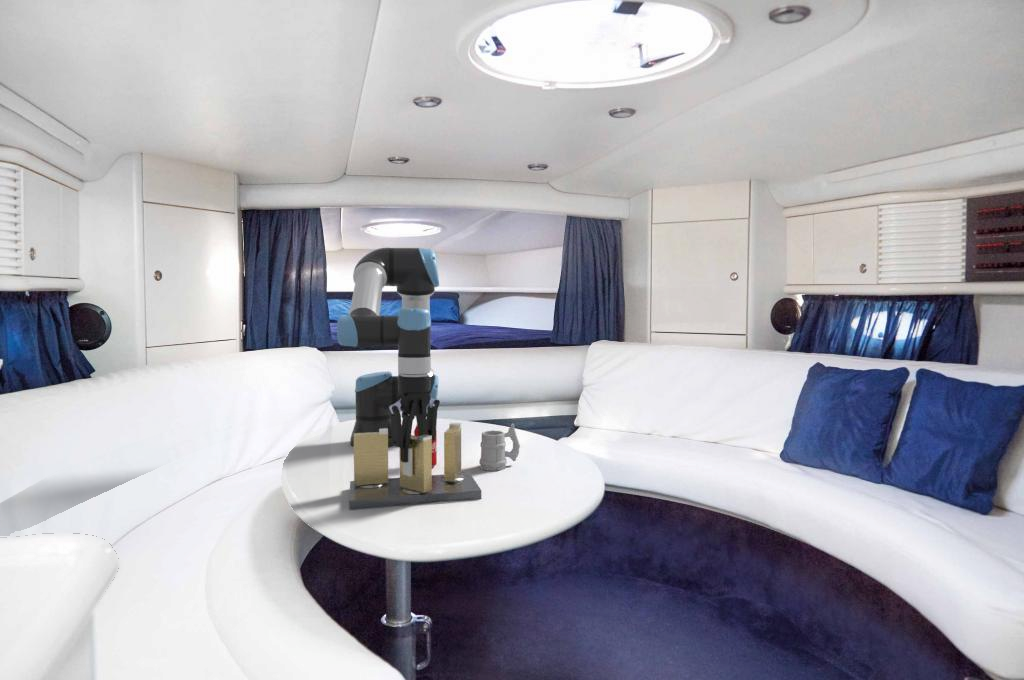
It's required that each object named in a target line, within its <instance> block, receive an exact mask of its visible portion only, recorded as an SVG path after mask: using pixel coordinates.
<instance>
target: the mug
mask: <svg viewBox="0 0 1024 680" xmlns="http://www.w3.org/2000/svg"><path fill="white" fill-rule="evenodd" d="M505 438H510V440H511V441H512V448H511V451H508V450H506V445H507V444H506V439H505ZM520 447H521V444H520V442H519V439H518V436H517V432H516V430H515V424H514V423H511V424H510V426H509V428H508V430H507V432H504V431H501V430H485V431H483V432H482V433H481V442H480V448H481V449H480V458H479V465H480V469H482V470H485V471H489V472H490V471H491V472H492V471H493V472H495V471H501V470H504V469H506V466H507V462H508V460H507V458H509V459H510V460H511V461H513V462H516V460H517V458H518V456H519V455H520Z"/></svg>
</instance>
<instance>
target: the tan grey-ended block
mask: <svg viewBox="0 0 1024 680" xmlns="http://www.w3.org/2000/svg"><path fill="white" fill-rule="evenodd" d="M398 448H399V447H398ZM409 448H412V476H411V477H409V476H406V475H404V474H403V462H401V460H400V459H399V478H400V486H401V487H405V488H408V489H412V490H416V491H419V492H423V493H424V492H427V491H430V490H432V474H433V471H432V469H433V468H432V436H431V435H426V434H425V435H421V436H414V434H411V438H410V446H409ZM398 453H399V457H400V448H399V451H398Z"/></svg>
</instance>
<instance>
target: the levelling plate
mask: <svg viewBox="0 0 1024 680" xmlns="http://www.w3.org/2000/svg"><path fill="white" fill-rule="evenodd" d="M348 498H349V502H348V506H349V510H350V511H351V510H360V509H363V510H364V509H374V508H376V509H377V508H387V507H388V508H389V507H396V506H397V507H398V506H410V505H420V504H434V503H444V502H445V503H446V502H456V501H457V502H458V501H459V502H460V501H468V500H471V501H472V500H480V499H481V500H482V489H481V487H480V485H478V483H477V481H476V480H475V478H474V477H473V476H472V474H471V472H461V473H460V475H459V476H458V477H457V479H456V480H455V481H444V473H443V474H433V475H432V490H430V491H427V492H424V493H423V492H419V491H416V490H412V489H408V488H405V487H401V486H400V477H388V483H378V484H365V485H354V480H351V481H349V497H348Z"/></svg>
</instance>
